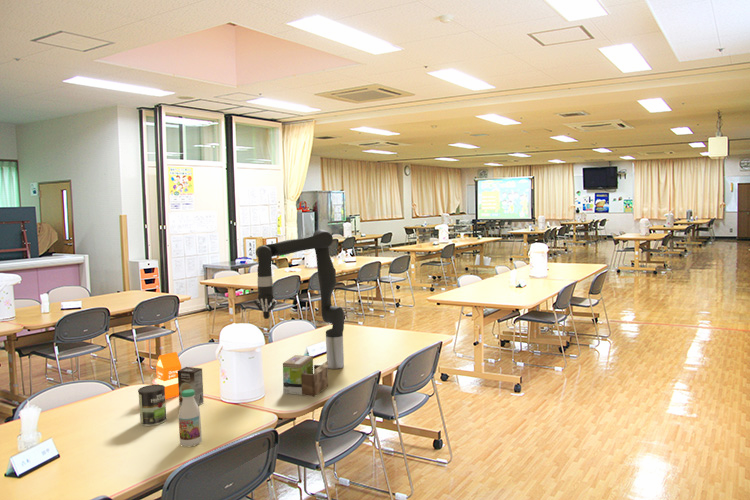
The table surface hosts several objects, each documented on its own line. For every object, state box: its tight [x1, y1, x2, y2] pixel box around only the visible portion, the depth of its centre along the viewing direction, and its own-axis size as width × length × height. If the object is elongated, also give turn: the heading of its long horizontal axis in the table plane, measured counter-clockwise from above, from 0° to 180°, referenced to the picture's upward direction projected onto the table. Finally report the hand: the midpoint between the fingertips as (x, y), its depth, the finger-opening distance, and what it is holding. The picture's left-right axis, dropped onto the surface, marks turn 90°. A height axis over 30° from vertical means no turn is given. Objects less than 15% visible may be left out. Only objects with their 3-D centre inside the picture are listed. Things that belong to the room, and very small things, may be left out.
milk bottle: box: [178, 389, 203, 447], centre depth 202 cm, size 8×8×20 cm
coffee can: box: [137, 384, 167, 427], centre depth 225 cm, size 10×10×14 cm
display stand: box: [301, 360, 329, 397], centre depth 257 cm, size 15×7×12 cm, turn 162°
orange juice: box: [155, 351, 182, 400], centre depth 257 cm, size 8×9×20 cm
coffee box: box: [178, 366, 205, 406], centre depth 244 cm, size 9×6×16 cm
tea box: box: [282, 354, 314, 395], centre depth 260 cm, size 15×10×15 cm, turn 166°
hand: (266, 318), depth 277 cm, fingers closed
